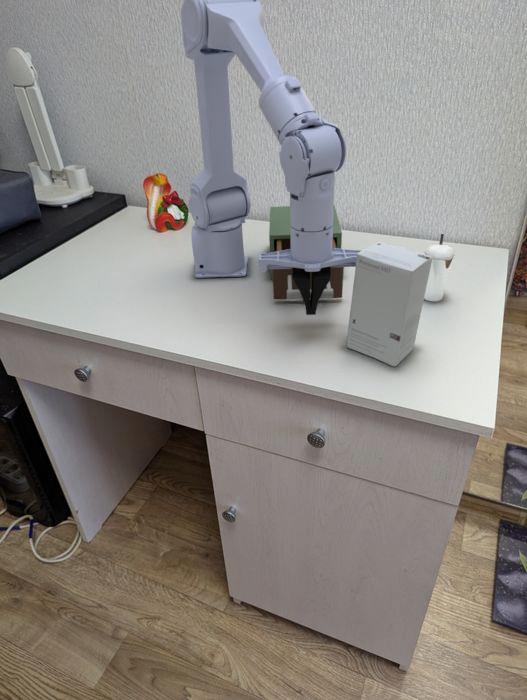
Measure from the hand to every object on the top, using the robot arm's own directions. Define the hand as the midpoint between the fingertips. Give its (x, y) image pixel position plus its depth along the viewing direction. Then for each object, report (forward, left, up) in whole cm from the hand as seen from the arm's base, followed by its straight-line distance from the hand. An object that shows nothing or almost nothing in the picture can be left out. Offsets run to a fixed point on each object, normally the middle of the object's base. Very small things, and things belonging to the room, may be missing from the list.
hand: (310, 311), depth 74 cm
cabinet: (0, +25, -4) cm, 25 cm away
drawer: (0, +12, -3) cm, 12 cm away
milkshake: (+21, +10, -4) cm, 24 cm away
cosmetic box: (+10, -5, -4) cm, 12 cm away
